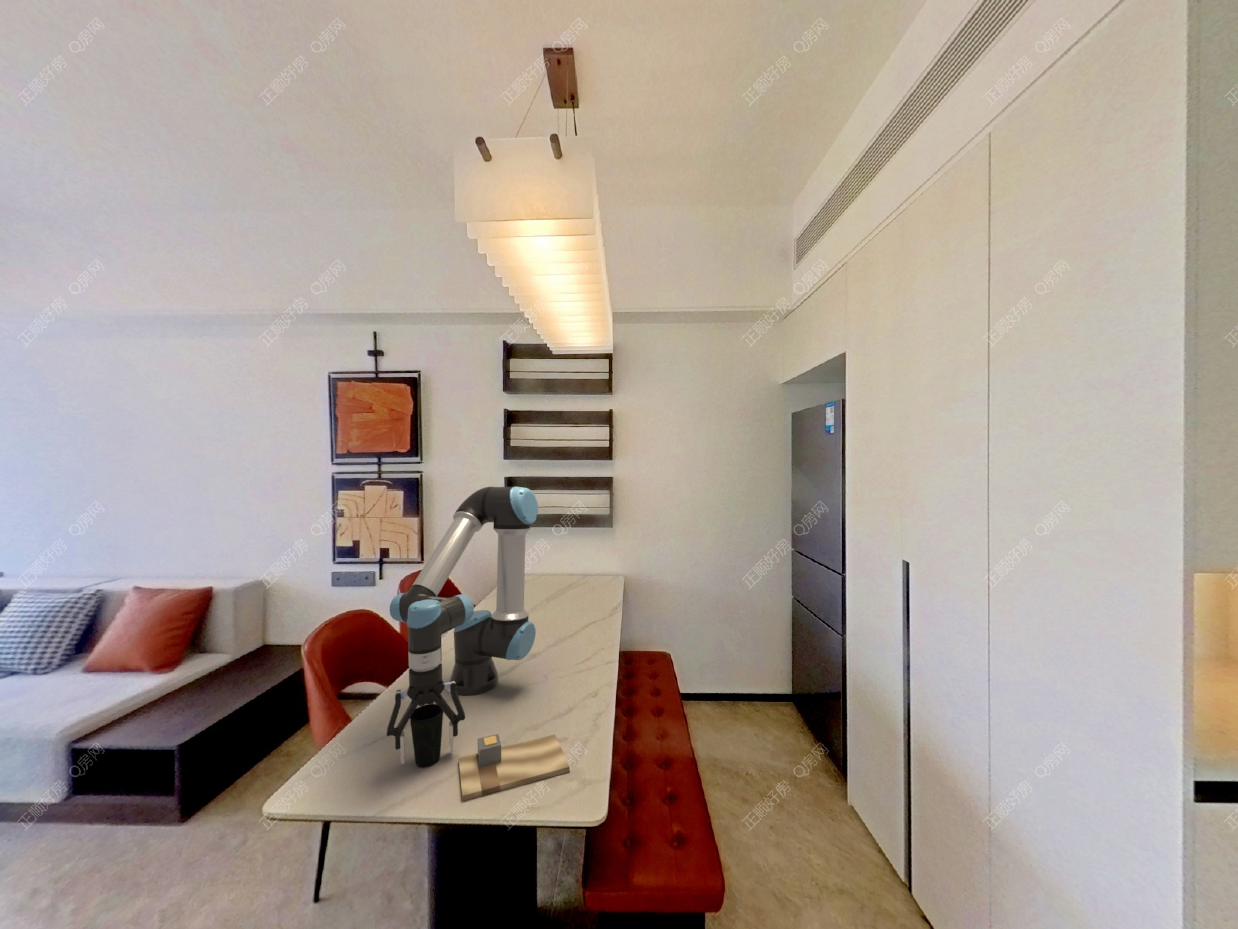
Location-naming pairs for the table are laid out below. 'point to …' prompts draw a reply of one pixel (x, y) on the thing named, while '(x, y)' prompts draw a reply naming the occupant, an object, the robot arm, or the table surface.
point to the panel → (512, 767)
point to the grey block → (489, 750)
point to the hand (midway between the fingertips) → (427, 754)
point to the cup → (427, 734)
